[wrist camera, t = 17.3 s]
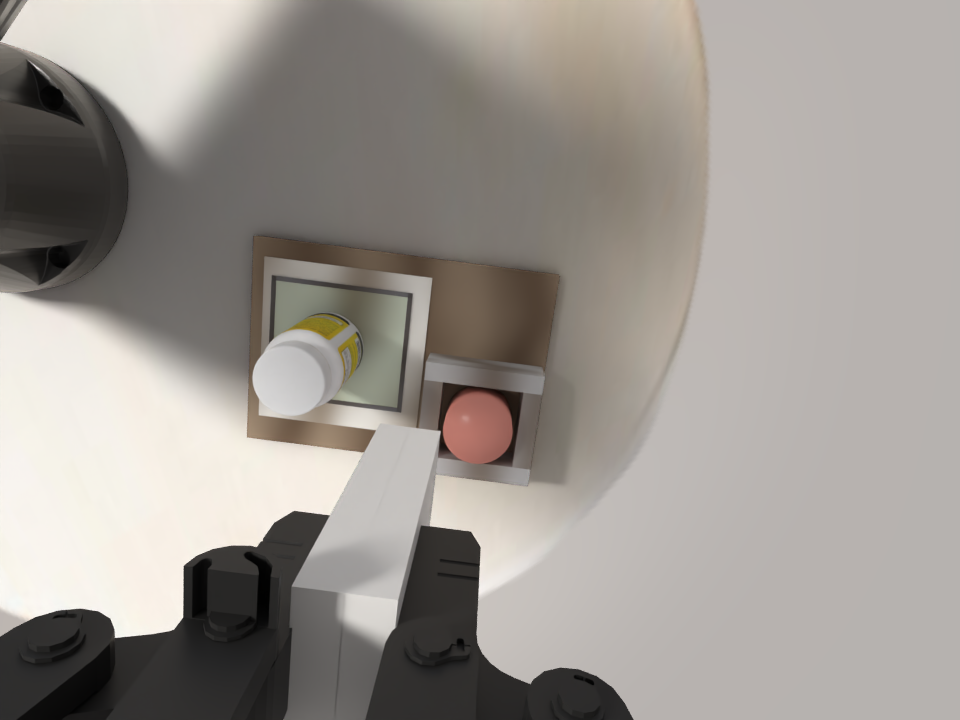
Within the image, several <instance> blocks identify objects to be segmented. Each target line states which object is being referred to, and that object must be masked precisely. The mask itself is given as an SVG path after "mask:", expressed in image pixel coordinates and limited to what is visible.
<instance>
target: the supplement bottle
mask: <svg viewBox="0 0 960 720" xmlns="http://www.w3.org/2000/svg"><path fill="white" fill-rule="evenodd" d="M363 352H364V346H363V340H362V337H361V335H360V333H359V331H358V329H357V328H356V327H355V325H354V324H353V323H351V322H350V321H349V320H348V319H346V318H345V317H343V316H341V315H339V314H336V313H331V312H321V313H317V314H314V315H311V316H309V317H307V318H305V319H304V320H302V321H301V322H299V323H297V324H296V325H294V326H292V327H291V328H289V329H288V330H286V331H284V332H282V333H281V334H279V335H278V336H276V337H275V338H274V339H273V340H272V341H271V342H270V343H269V345H268V346H267V347H266V349H265V351H264V354H263V355H262V356H261V357H260V358H259V359H258V361H257V362H256V364H255V367H254V370H253V376H252V379H253V386H254V390H255V392H256V394H257V396H258V398H259V399H260V401H261V402H262V403H263V404H264V405H265V406H266V407H268V408H269V409H270V410H272V411H274V412H276V413H278V414H281V415H286V416H298V415H302V414H305V413H307V412H309V411H311V410H312V409H314V408H315V407H319V406H321V405H323V404H325V403H327V402H328V401H329V400H331V399H332V398H333V397H334V396H335V395H336V394H337V393H338V391H339V390H340V389H341V388H342V387H343V385H344V384H345V383H346V382H347V380H348V379H349V378H350V377H351V376H352V374H353V373H354V372H355V371H356V369H357V368H358V367H359V365H360V363H361V361H362V357H363Z"/></svg>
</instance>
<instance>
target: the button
mask: <svg viewBox="0 0 960 720" xmlns="http://www.w3.org/2000/svg"><path fill="white" fill-rule="evenodd" d="M512 433H513V430H512V416H511V408H510V405H509V403H508V401H507V399H506V398H505V397H504V395H503V394H502V393H500V392H499V391H498V390H496V389H491V388H484V387H476V386H468V387H465V388H463V389H462V390H460V391H459V392H457V393H456V394H455V395H454V396H453V398H452V399H451V401H450V403H449V405H448V409H447V413H446V417H445V421H444V425H443V436H444V440H445V443H446V445H447V447H448V448H449V450H450V451H451V452H452V453H453V454H454V455H455V456H456V457H457V458H459V459H461V460H463V461H465V462H468V463H473V464H483V463H488V462H491V461H493V460H495V459H497V458H499V457H500V456H501V455H502V454H503V453H504V452H505V451H506V450H507V448H508V447H509V445H510V442H511V439H512Z"/></svg>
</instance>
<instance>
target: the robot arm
mask: <svg viewBox="0 0 960 720" xmlns="http://www.w3.org/2000/svg"><path fill="white" fill-rule="evenodd" d="M26 2H27V0H0V41H1V39H2V38H3V36H4V35H5V33H6V32H7V30H8V29H9V27H10V26H11V24H12V23H13V21H14V20H15V18H16V17H17V15H18V14H19V12H20V11H21V9H22V8H23V6H24V5H25V3H26ZM127 197H128V183H127V172H126V166H125V161H124V157H123V153H122V150H121V147H120V144H119V141H118V139H117V136H116V134H115V132H114V130H113V127H112V125H111V123H110V122H109V120H108V118H107V116H106V115H105V113H104V112H103V110H102V109H101V107H100V106H99V104H98V103H97V102H96V100H95V99H94V98H93V97H92V96H91V94H90V93H89V92H88V91H87V90H86V89H85V88H84V87H83V86H82V85H81V84H80V83H79V82H78V81H77V80H76V79H75V78H74V77H72V76H71V75H70V74H69V73H67V72H66V71H65V70H63V69H62V68H60V67H59V66H57V65H56V64H54V63H52V62H51V61H49V60H47V59H45V58H43V57H41V56H39V55H37V54H34V53H32V52H29V51H26V50H23V49H20V48H17V47H14V46H11V45H8V44H5V43H2V42H0V292H4V293H18V292H28V291H35V290H40V289H46V288H52V287H56V286H60V285H63V284H67V283H69V282H71V281H74V280H76V279H78V278H80V277H82V276H83V275H85V274H86V273H88V272H89V271H90V270H92V269H93V268H94V267H95V266H96V265H98V264H99V263H100V262H101V261H102V259H103V258H104V257H105V256H106V255H107V253H108V252H109V251H110V249H111V248H112V246H113V245H114V243H115V241H116V239H117V237H118V235H119V232H120V230H121V227H122V224H123V221H124V217H125V213H126V207H127ZM440 433H441V431H435V430H427V429H419V428H412V427H404V426H396V425H388V424H381V423H380V424H379V426H378V428H377V430H376V432H375V434H374V435H373V437H372V439H371V441H370V443H369V445H368V447H367V448H366V450H365V452H364V454H363V456H362V458H361V459H360V461H359V463H358V465H357V467H356V469H355V470H354V472H353V474H352V476H351V478H350V480H349V481H348V483H347V485H346V487H345V489H344V491H343V493H342V494H341V496H340V498H339V500H338V502H337V504H336V505H335V507H334V509H333V511H332V513H331V515H330V516H329V515H322V514H314V513H306V512H298V511H293V512H292V513H290V514H288V515H287V516H285V517H283V518H282V519H280V520H278V521H277V522H275V523H274V524H273V525H272V527H271V528H270V530H269V531H268V533H267V534H266V535H265V537H264V538H263V542H262V541H261V542H260V544H259V545H258V547H253V546H227V547H222V548H217V549H212V550H210V551H207V552H205V553H203V554H200V555H198V556H196V557H195V558H193V559H192V560H191V561H189V562H188V563H187V564H186V565H184V606H183V619H182V620H181V621H180V623H179V624H178V625H177V627H176V628H175V629H174V630H172V631H169V632H163V633H157V634H151V635H141V636H131V637H122V638H115V633H114V627H113V625H112V622H111V619H110V618H108V617H106V616H105V615H103V614H102V613H100V612H98V611H92V610H85V609H72V610H61V611H56V612H52V613H49V614H45V615H42V616H38V617H35V618H33V619H31V620H29V621H27V622H25V623H23V624H21V625H19V626H17V627H15V628H13V629H12V630H10V631H9V632H7V633H6V634H4V635H2V636H1V637H0V720H283V719H284V720H633V718H632V716H631V714H630V712H629V711H628V709H627V707H626V705H625V703H624V702H623V700H622V699H621V698H620V696H619V695H618V694H617V693H616V691H615V690H614V689H613V688H612V687H611V686H609V685H608V684H607V683H605V682H604V681H603V680H601V679H599V678H598V677H597V676H594V675H592V674H589V673H587V672H584V671H581V670H578V669H569V668H557V669H553V670H548V671H544V672H543V673H542V674H540V675H539V676H538V677H536V678H535V679H534V680H533V681H532V683H531V684H528V683H525V682H523V681H521V680H518V679H516V678H513V677H511V676H509V675H507V674H505V673H503V672H501V671H500V670H499V669H497V668H496V667H495V666H493V665H492V664H491V663H490V662H489V661H488V660H487V659H486V658H485V657H484V655H483V654H482V652H481V650H480V648H479V646H478V644H477V635H476V630H477V610H478V589H479V569H480V567H479V566H480V548H481V547H480V546H479V544H478V542H477V541H476V539H475V538H474V536H473V534H472V533H471V532H469V531H461V530H453V529H446V528H438V527H430V518H431V510H432V501H433V493H434V484H435V476H436V467H437V459H438V450H439V442H440Z"/></svg>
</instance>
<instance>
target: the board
mask: <svg viewBox="0 0 960 720" xmlns="http://www.w3.org/2000/svg"><path fill="white" fill-rule="evenodd" d="M559 277H560V276H559V275H557V274H549V273H542V272H534V271H526V270H518V269H511V268H503V267H495V266H488V265H480V264H472V263H465V262H457V261H449V260H441V259H434V258H426V257H418V256H411V255H403V254H395V253H388V252H380V251H372V250H364V249H357V248H349V247H341V246H334V245H326V244H318V243H311V242H303V241H295V240H287V239H280V238H272V237H264V236H253V267H252V297H251V328H250V358H249V389H248V420H247V437H249V438H257V439H265V440H272V441H280V442H288V443H296V444H304V445H311V446H319V447H327V448H335V449H343V450H350V451H358V452H365V450H366V448H367V447H368V445H369V443H370V441H371V439H372V437H373V435H374V434H375V432H376V430H377V428H378V426H379V424H380V423H381V424H388V425H396V426H404V427H412V428H419V429H427V430H435V431H441V433H440V442H439V450H438V459H437V467H436V475H444V476H452V477H460V478H467V479H475V480H483V481H491V482H499V483H506V484H514V485H522V486H528V482H529V476H530V469H531V463H532V457H533V450H534V444H535V438H536V432H537V425H538V419H539V413H540V406H541V400H542V394H543V388H544V381H545V375H544V372H545V366H546V359H547V353H548V347H549V340H550V334H551V328H552V321H553V315H554V309H555V303H556V296H557V290H558V284H559ZM321 312H331V313H336V314H339V315H341V316H343V317H345V318H346V319H348V320H349V321H350V322H351V323H353V324H354V325H355V327H356V328H357V329H358V331H359V333H360V335H361V337H362V340H363V346H364V352H363V357H362V361H361V363H360V365H359V367H358V368H357V369H356V371H355V372H354V373H353V374H352V376H351V377H350V378H349V379H348V380H347V382H346V383H345V384H344V385H343V387H342V388H341V389H340V390H339V391H338V393H337V394H336V395H335V396H334V397H333V398H332V399H331V400H329V401H328V402H327V403H325V404H323V405H321V406H319V407H315V408H314V409H312V410H311V411H309V412H307V413H305V414H302V415H298V416H286V415H281V414H278V413H276V412H274V411H272V410H270V409H269V408H268V407H266V406H265V405H264V404H263V403H262V402H261V401H260V399H259V398H258V396H257V394H256V392H255V390H254V386H253V379H252V376H253V370H254V367H255V364H256V362H257V361H258V359H259V358H260V357H261V356H262V355H263V354H264V351H265V349H266V347H267V346H268V345H269V343H270V342H271V341H272V340H273V339H274V338H275V337H276V336H278V335H279V334H281V333H282V332H284V331H286V330H288V329H289V328H291V327H292V326H294V325H296V324H297V323H299V322H301V321H302V320H304V319H305V318H307V317H309V316H311V315H314V314H317V313H321ZM468 386H476V387H484V388H491V389H496V390H498V391H499V392H500V393H502V394H503V395H504V397H505V398H506V399H507V401H508V403H509V405H510V408H511V416H512V430H513V433H512V439H511V442H510V445H509V447H508V448H507V450H506V451H505V452H504V453H503V454H502V455H501V456H500V457H499V458H497V459H495V460H493V461H491V462H488V463H483V464H473V463H468V462H465V461H463V460H461V459H459V458H457V457H456V456H455V455H454V454H453V453H452V452H451V451H450V450H449V448H448V447H447V445H446V443H445V440H444V436H443V425H444V421H445V417H446V413H447V409H448V405H449V403H450V401H451V399H452V398H453V396H454V395H455V394H456V393H457V392H459V391H460V390H462V389H463V388H465V387H468Z"/></svg>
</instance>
